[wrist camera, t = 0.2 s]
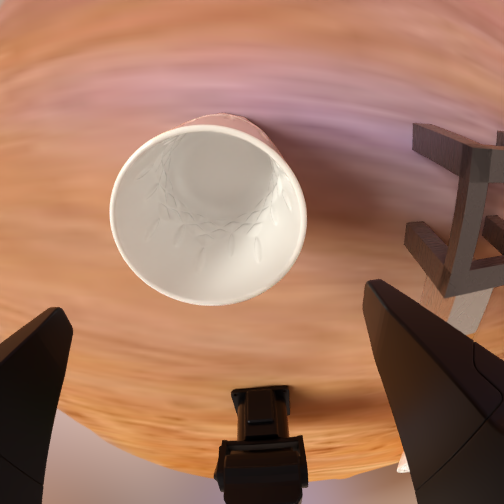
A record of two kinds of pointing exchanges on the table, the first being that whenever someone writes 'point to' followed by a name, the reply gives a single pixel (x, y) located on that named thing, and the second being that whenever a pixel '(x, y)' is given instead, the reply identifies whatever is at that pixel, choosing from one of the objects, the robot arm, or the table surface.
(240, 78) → the table surface
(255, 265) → the white cup
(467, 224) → the grey c-shaped bracket
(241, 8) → the table surface
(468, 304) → the grey rectangular bar
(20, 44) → the table surface
